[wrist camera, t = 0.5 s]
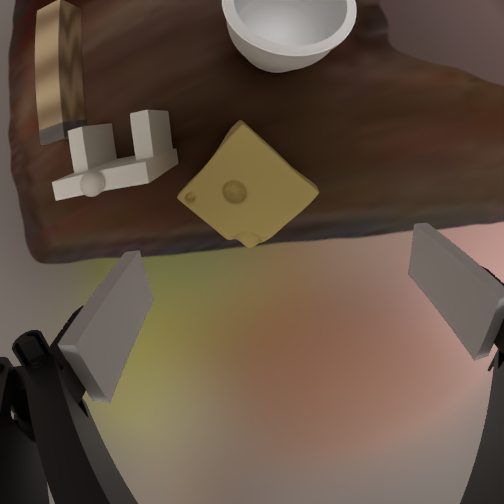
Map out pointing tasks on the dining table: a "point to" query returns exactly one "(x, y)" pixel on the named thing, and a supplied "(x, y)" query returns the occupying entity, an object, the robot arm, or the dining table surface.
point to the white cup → (287, 30)
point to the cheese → (247, 189)
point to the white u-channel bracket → (106, 163)
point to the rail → (59, 71)
